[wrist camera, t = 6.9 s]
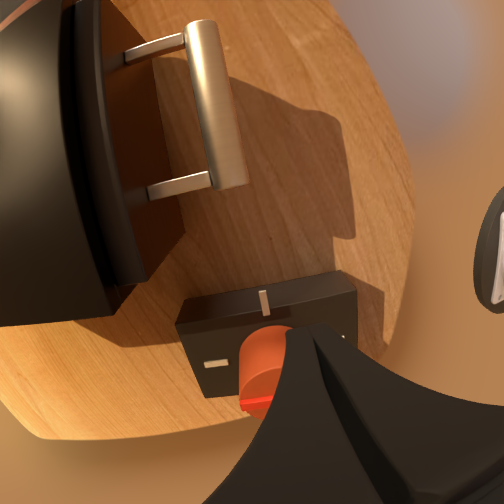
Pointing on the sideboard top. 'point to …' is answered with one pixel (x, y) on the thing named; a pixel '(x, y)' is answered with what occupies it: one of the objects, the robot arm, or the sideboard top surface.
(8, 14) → the picture frame
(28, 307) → the black box
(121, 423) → the sideboard top surface
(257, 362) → the timer knob
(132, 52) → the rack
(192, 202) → the sideboard top surface
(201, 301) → the timer panel
